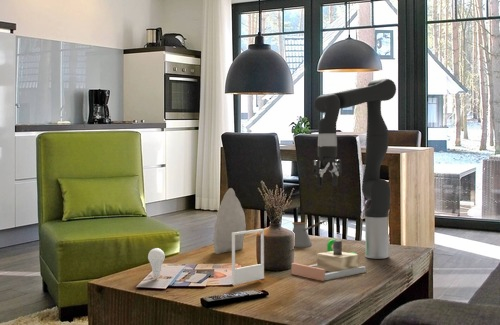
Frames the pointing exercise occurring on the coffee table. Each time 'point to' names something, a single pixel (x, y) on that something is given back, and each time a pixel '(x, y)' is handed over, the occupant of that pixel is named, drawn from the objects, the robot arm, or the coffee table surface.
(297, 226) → the coffee pot
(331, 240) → the mechanical part
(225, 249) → the rock
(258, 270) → the photo frame
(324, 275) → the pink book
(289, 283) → the coffee table surface
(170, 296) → the coffee table surface
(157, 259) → the lightbulb
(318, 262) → the light wooden block
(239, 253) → the coffee table surface
